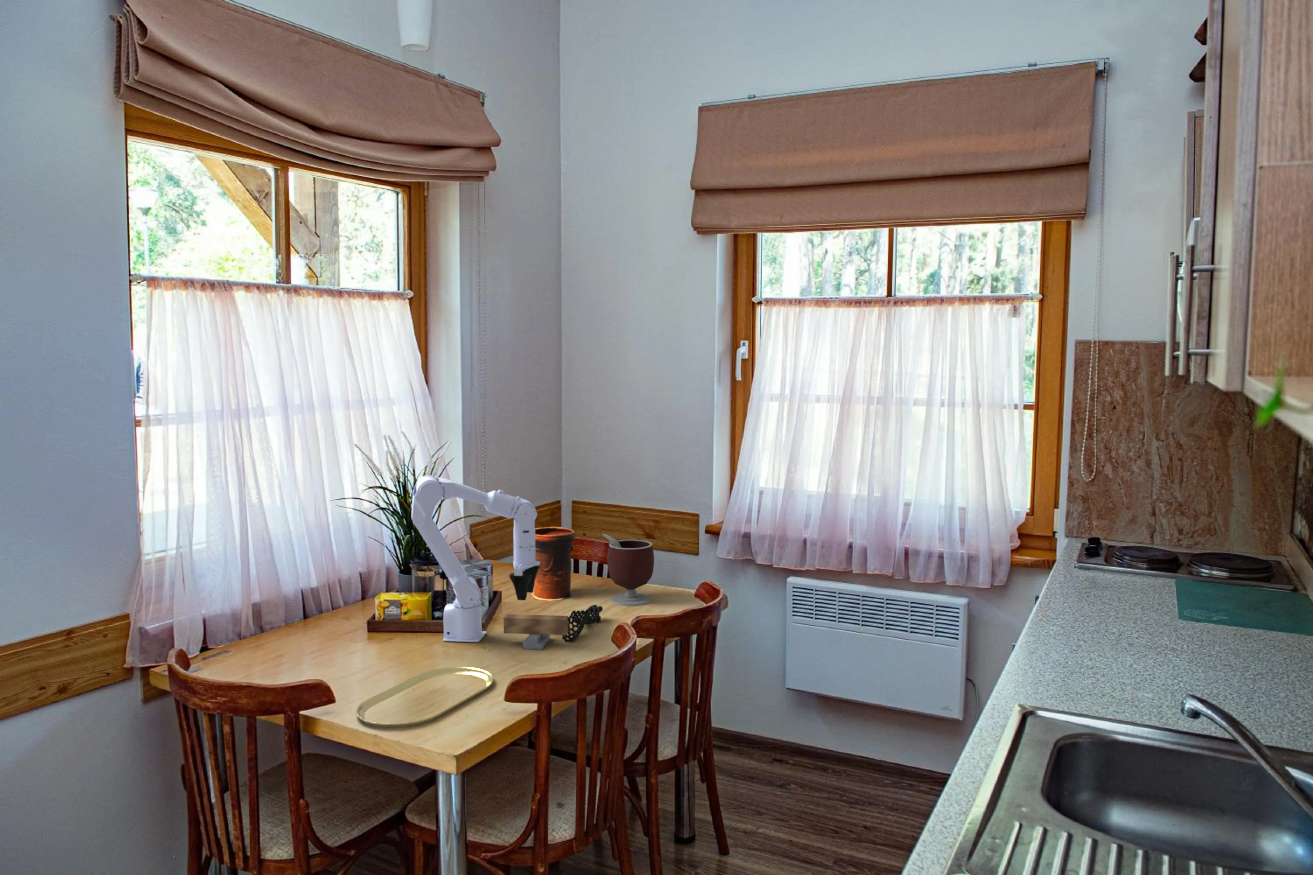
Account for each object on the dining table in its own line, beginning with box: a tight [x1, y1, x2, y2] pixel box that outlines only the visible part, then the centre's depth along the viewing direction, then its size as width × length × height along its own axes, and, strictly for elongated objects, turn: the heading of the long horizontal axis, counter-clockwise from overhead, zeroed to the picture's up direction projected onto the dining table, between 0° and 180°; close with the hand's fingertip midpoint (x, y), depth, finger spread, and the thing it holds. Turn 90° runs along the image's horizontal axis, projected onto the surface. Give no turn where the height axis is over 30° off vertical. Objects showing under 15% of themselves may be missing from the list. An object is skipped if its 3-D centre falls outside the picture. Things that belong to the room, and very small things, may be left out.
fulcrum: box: [522, 634, 551, 650], centre depth 245 cm, size 5×9×3 cm, turn 174°
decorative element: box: [561, 604, 604, 643], centre depth 256 cm, size 22×5×6 cm, turn 164°
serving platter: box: [355, 666, 494, 729], centre depth 208 cm, size 19×35×2 cm, turn 155°
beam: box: [503, 613, 569, 636], centre depth 244 cm, size 16×4×4 cm, turn 84°
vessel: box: [530, 526, 576, 602], centre depth 291 cm, size 14×14×20 cm
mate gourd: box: [602, 533, 655, 607], centre depth 285 cm, size 16×14×20 cm
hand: (525, 595), depth 253 cm, fingers open, 7 cm apart
